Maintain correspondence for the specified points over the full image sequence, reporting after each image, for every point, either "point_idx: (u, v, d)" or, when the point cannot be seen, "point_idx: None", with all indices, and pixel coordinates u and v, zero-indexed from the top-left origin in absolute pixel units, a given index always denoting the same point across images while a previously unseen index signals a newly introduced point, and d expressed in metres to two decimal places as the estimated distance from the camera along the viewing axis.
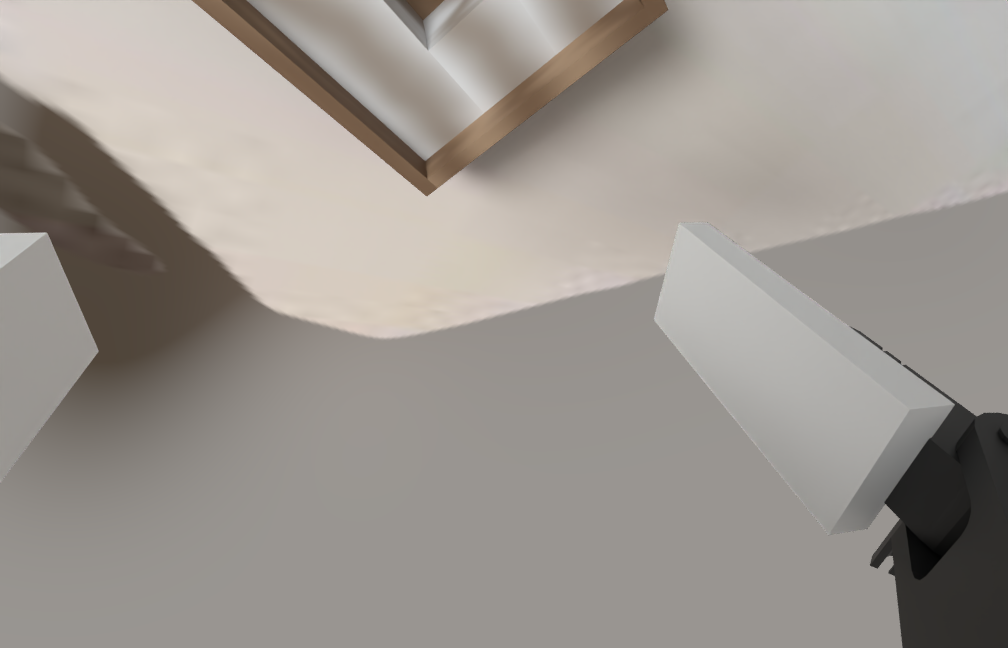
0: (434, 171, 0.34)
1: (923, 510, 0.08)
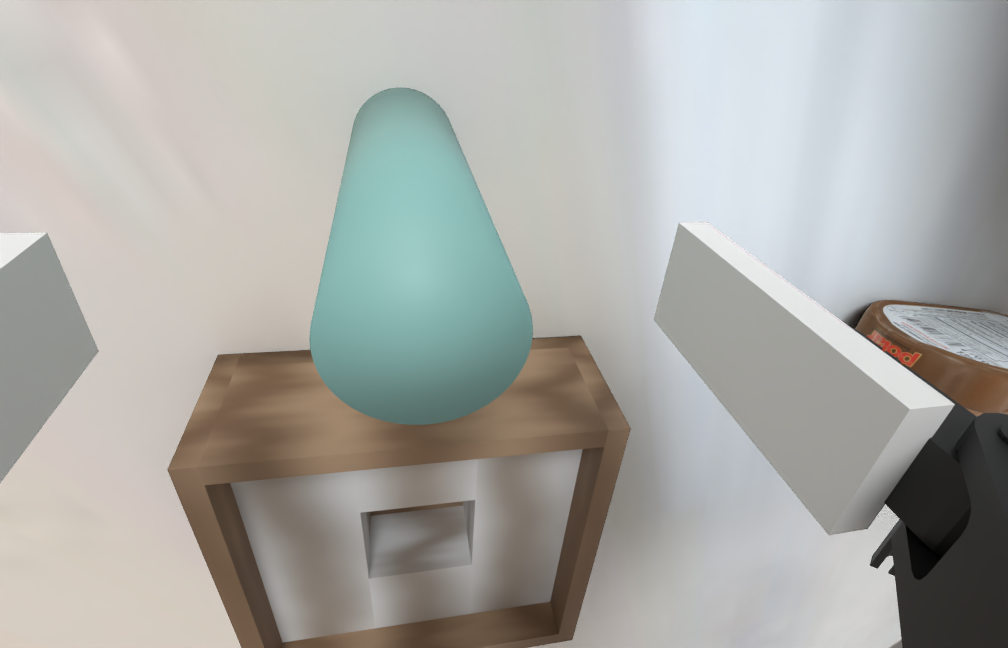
0: None
1: (923, 510, 0.08)
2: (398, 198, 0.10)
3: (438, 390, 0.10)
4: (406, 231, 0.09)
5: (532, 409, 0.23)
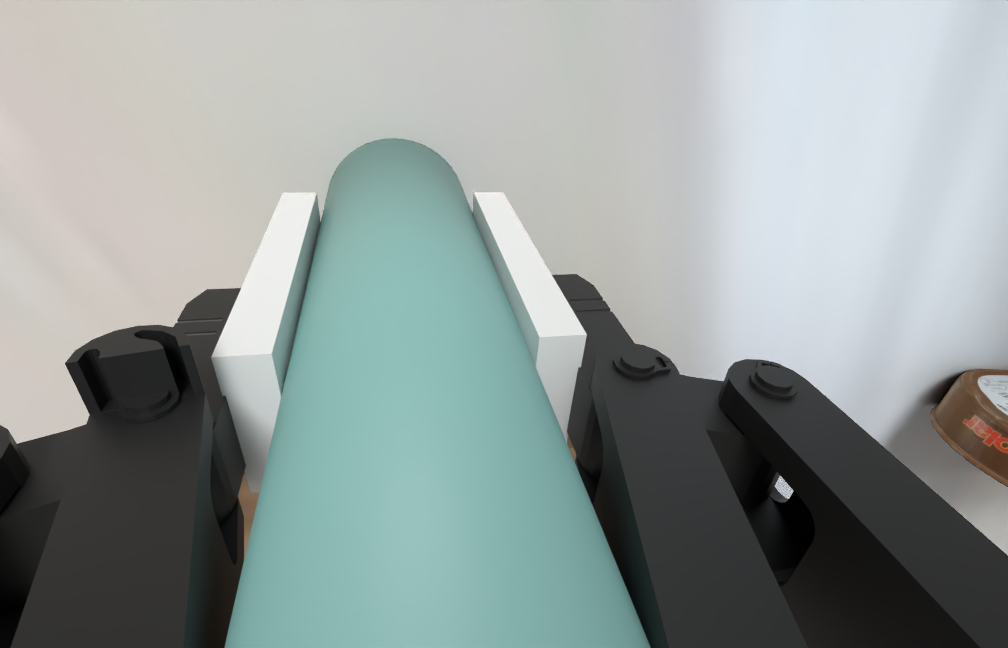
0: None
1: (584, 447, 0.08)
2: (390, 465, 0.05)
3: None
4: None
5: None
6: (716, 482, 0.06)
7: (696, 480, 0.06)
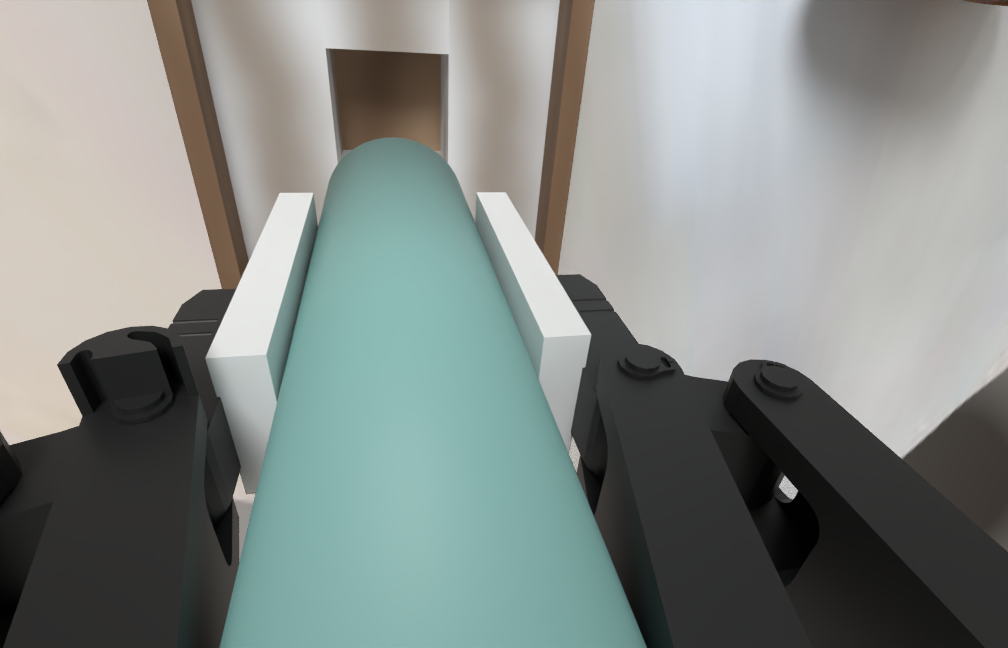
0: None
1: (588, 447, 0.08)
2: (386, 457, 0.05)
3: None
4: (405, 637, 0.04)
5: None
6: (721, 482, 0.06)
7: (701, 480, 0.06)
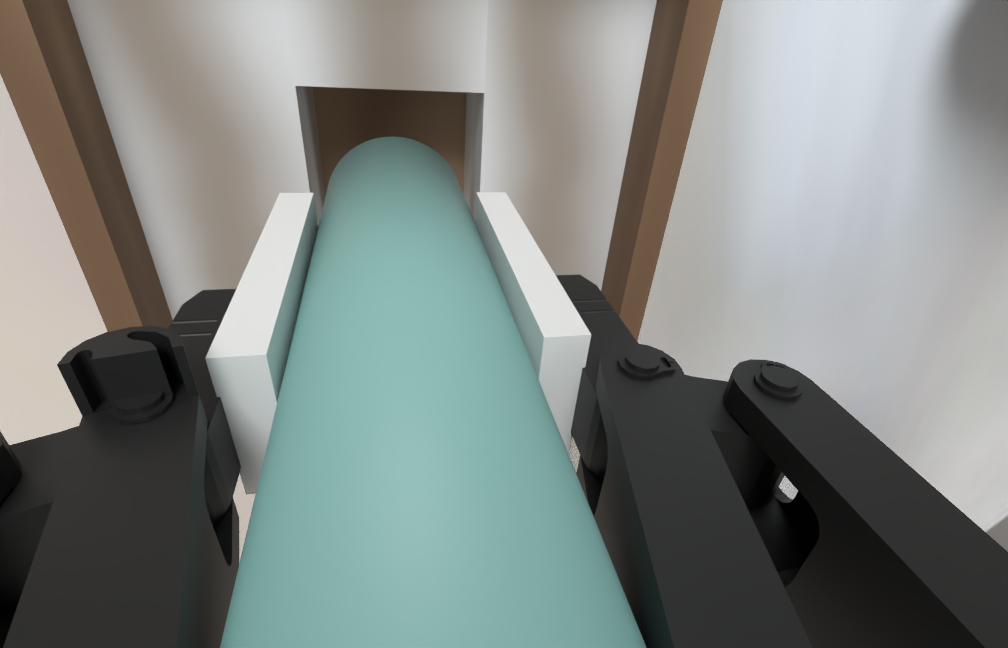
0: None
1: (588, 447, 0.08)
2: (386, 447, 0.05)
3: None
4: (404, 618, 0.04)
5: None
6: (721, 482, 0.06)
7: (701, 480, 0.06)
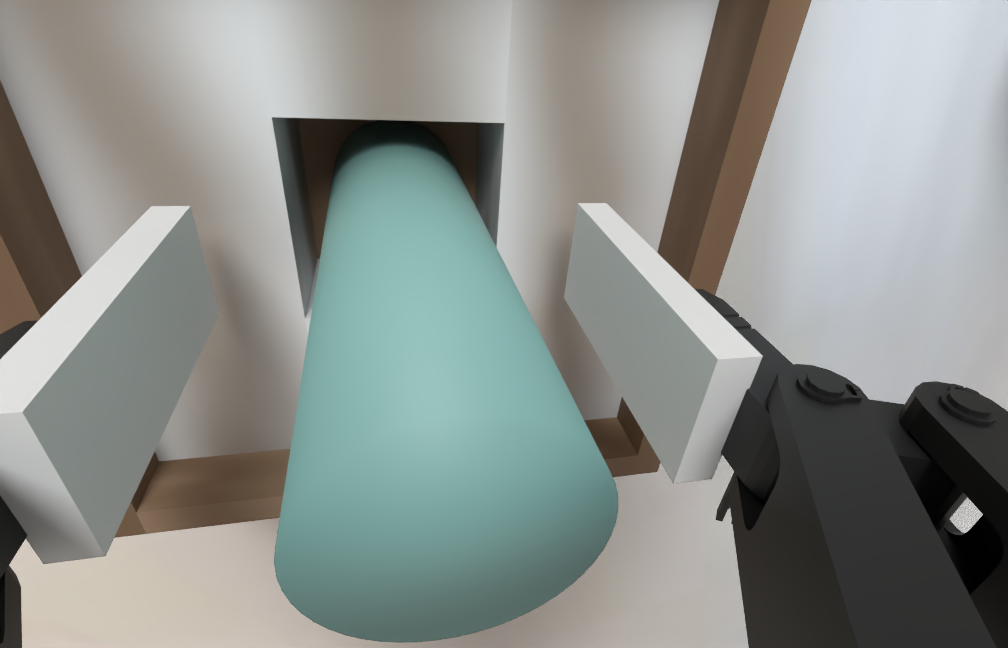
0: (162, 504, 0.16)
1: (748, 463, 0.08)
2: (408, 311, 0.07)
3: (474, 598, 0.07)
4: (428, 389, 0.05)
5: None
6: (914, 518, 0.06)
7: (891, 511, 0.06)
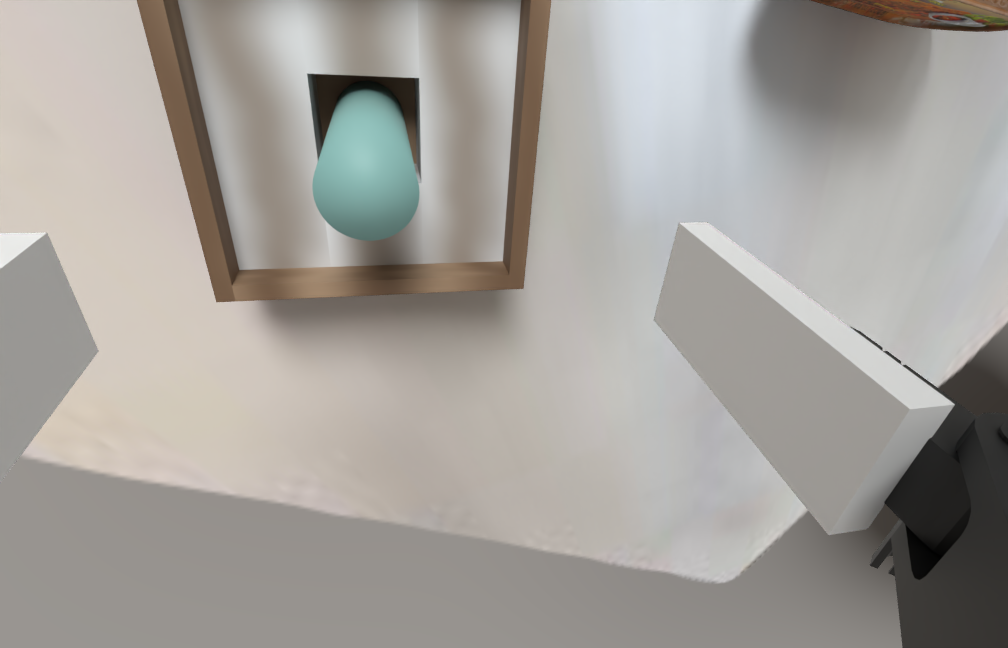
0: (245, 283, 0.30)
1: (923, 510, 0.08)
2: (354, 126, 0.21)
3: (375, 220, 0.21)
4: (355, 136, 0.19)
5: None
6: None
7: None
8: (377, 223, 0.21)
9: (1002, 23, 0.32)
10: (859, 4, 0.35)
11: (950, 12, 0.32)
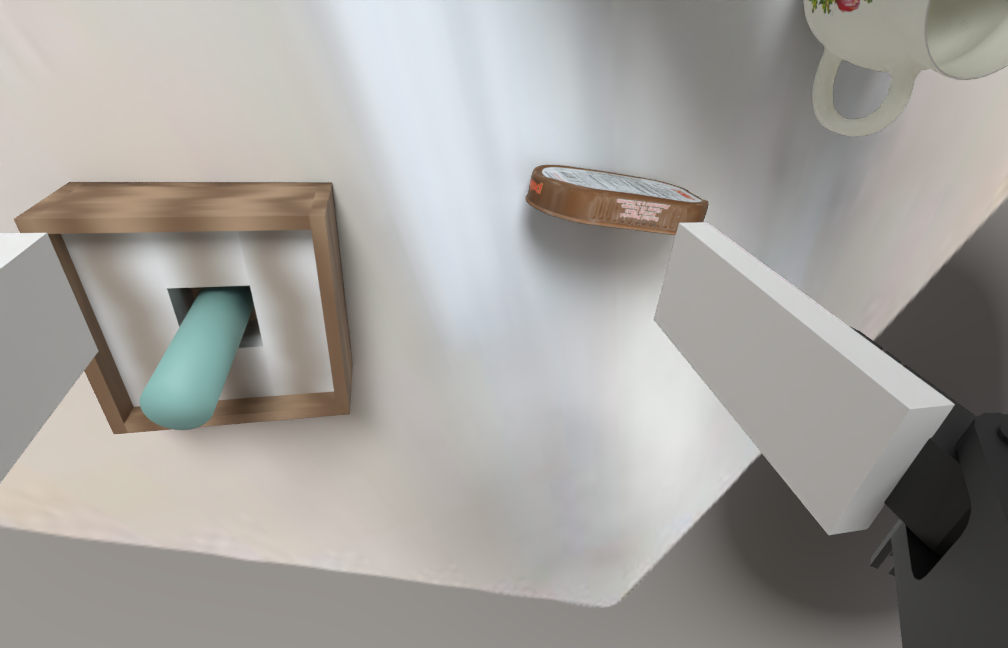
0: (134, 421, 0.41)
1: (923, 510, 0.08)
2: (173, 358, 0.32)
3: (186, 419, 0.32)
4: (166, 374, 0.31)
5: (266, 207, 0.36)
6: None
7: None
8: (188, 420, 0.33)
9: None
10: None
11: None
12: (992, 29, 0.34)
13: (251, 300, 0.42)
